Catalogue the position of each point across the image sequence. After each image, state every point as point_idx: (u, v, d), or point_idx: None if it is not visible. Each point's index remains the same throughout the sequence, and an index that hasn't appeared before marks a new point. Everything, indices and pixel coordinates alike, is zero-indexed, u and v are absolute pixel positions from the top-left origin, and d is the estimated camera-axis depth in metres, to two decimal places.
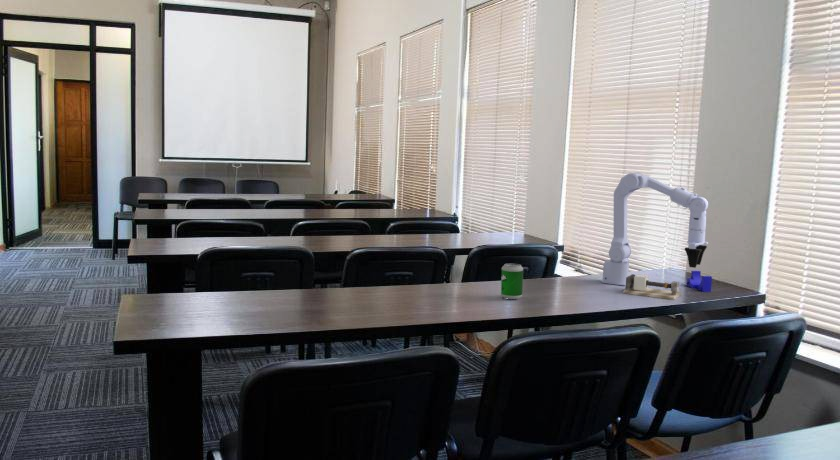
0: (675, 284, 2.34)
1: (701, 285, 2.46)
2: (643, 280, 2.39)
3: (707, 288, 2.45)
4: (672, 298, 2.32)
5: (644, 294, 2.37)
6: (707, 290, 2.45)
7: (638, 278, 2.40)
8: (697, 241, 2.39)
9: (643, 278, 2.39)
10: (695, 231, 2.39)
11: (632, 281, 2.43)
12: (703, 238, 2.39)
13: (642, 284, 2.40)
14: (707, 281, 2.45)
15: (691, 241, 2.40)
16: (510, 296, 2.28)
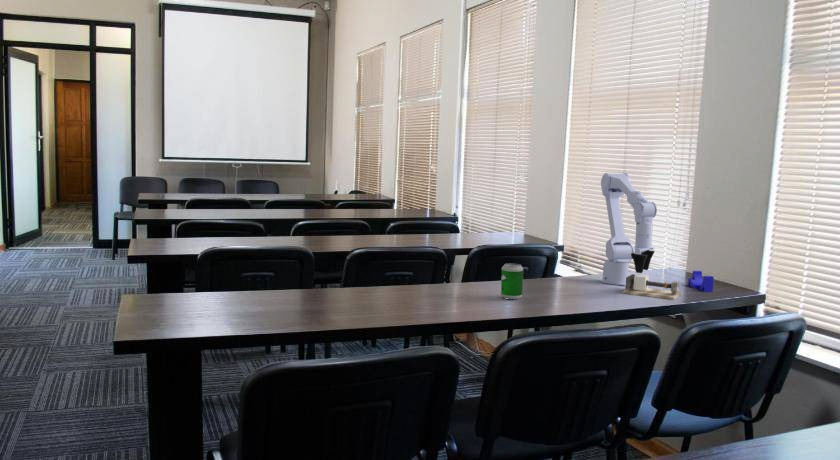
0: (675, 284, 2.34)
1: (703, 285, 2.46)
2: (643, 280, 2.39)
3: (709, 288, 2.45)
4: (672, 298, 2.32)
5: (644, 294, 2.37)
6: (709, 290, 2.45)
7: (638, 278, 2.40)
8: (643, 246, 2.38)
9: (643, 278, 2.39)
10: (641, 236, 2.38)
11: (632, 281, 2.43)
12: (649, 243, 2.38)
13: (642, 284, 2.40)
14: (708, 281, 2.45)
15: (637, 246, 2.39)
16: (510, 296, 2.28)
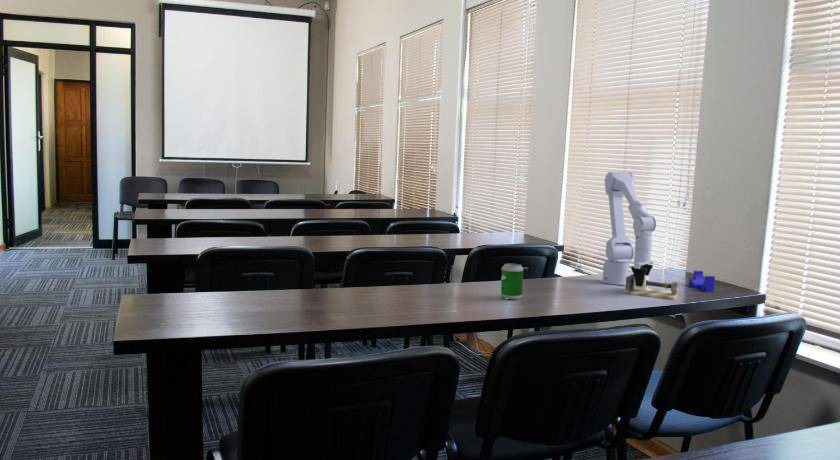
0: (675, 284, 2.34)
1: (704, 285, 2.46)
2: None
3: (710, 288, 2.45)
4: (672, 298, 2.32)
5: (644, 294, 2.37)
6: (710, 290, 2.45)
7: None
8: (642, 260, 2.39)
9: None
10: (640, 250, 2.39)
11: (632, 281, 2.43)
12: (649, 257, 2.39)
13: None
14: (710, 281, 2.45)
15: (637, 260, 2.40)
16: (510, 296, 2.28)
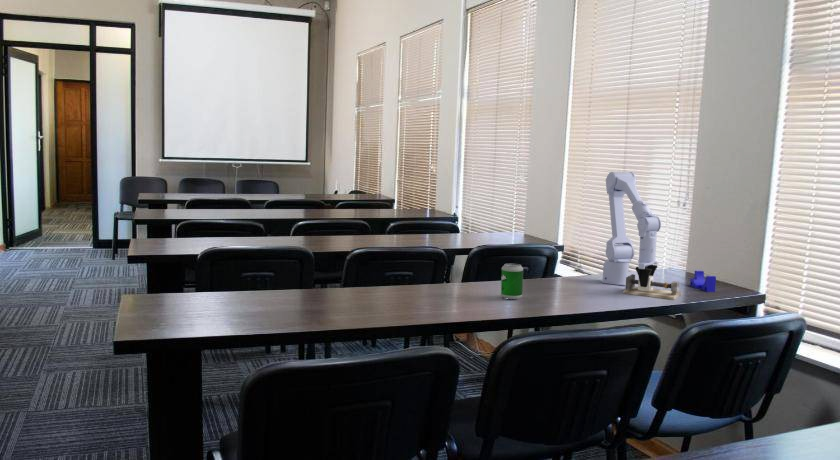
0: (675, 284, 2.34)
1: (705, 285, 2.46)
2: (648, 281, 2.39)
3: (711, 288, 2.45)
4: (672, 298, 2.32)
5: (644, 294, 2.37)
6: (711, 290, 2.45)
7: None
8: (647, 261, 2.38)
9: (648, 279, 2.38)
10: (645, 251, 2.38)
11: (632, 281, 2.43)
12: (653, 258, 2.38)
13: None
14: (711, 281, 2.45)
15: (641, 261, 2.39)
16: (510, 296, 2.28)
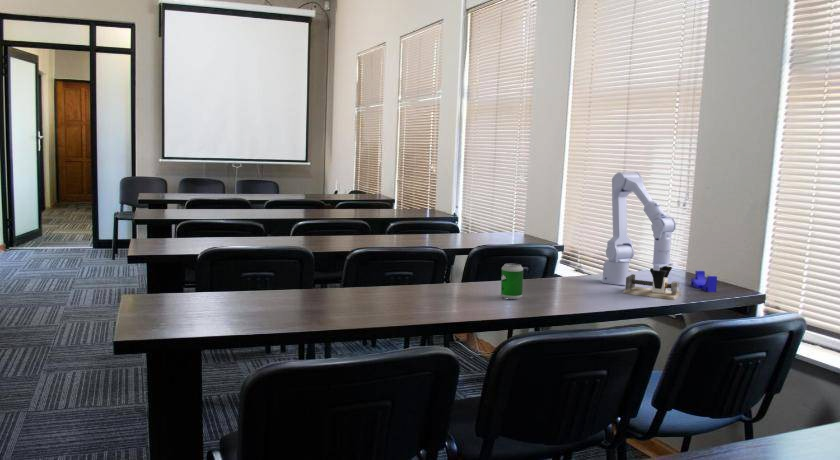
0: (675, 284, 2.34)
1: (707, 285, 2.46)
2: None
3: (712, 288, 2.45)
4: (672, 298, 2.32)
5: (644, 294, 2.37)
6: (712, 290, 2.45)
7: None
8: (662, 262, 2.35)
9: None
10: (660, 252, 2.35)
11: (632, 281, 2.43)
12: (668, 259, 2.35)
13: None
14: (712, 281, 2.45)
15: (656, 262, 2.36)
16: (510, 296, 2.28)
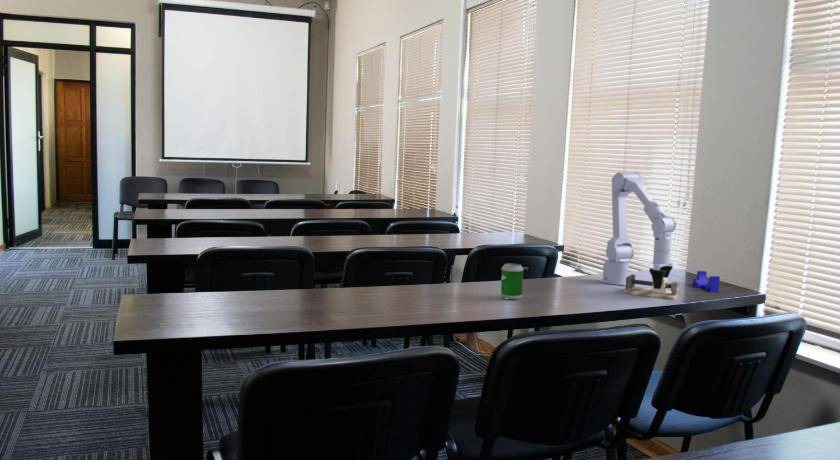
0: (675, 284, 2.34)
1: (709, 285, 2.46)
2: (662, 282, 2.36)
3: (715, 288, 2.45)
4: (672, 298, 2.32)
5: (644, 294, 2.37)
6: (715, 290, 2.45)
7: None
8: (662, 262, 2.35)
9: None
10: (660, 252, 2.35)
11: (632, 281, 2.43)
12: (668, 259, 2.35)
13: (661, 286, 2.36)
14: (715, 281, 2.45)
15: (656, 262, 2.36)
16: (510, 296, 2.28)
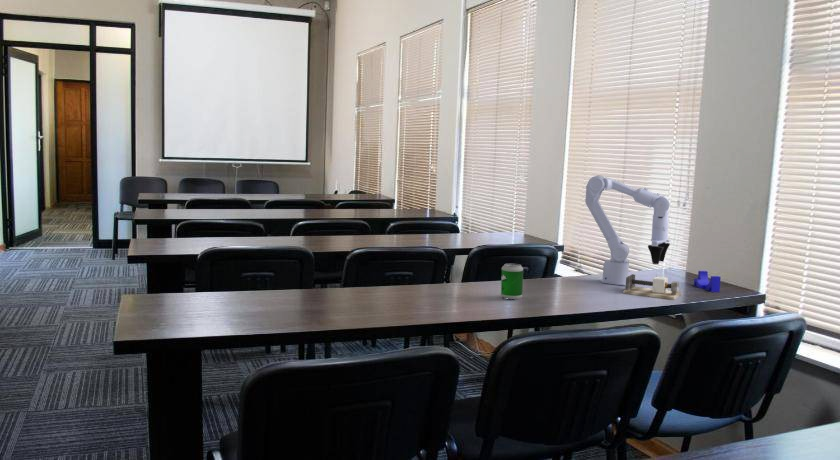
0: (675, 284, 2.34)
1: (710, 285, 2.46)
2: (662, 282, 2.36)
3: (716, 288, 2.45)
4: (672, 298, 2.32)
5: (644, 294, 2.37)
6: (716, 290, 2.45)
7: (657, 280, 2.37)
8: (660, 239, 2.49)
9: (662, 280, 2.36)
10: (658, 229, 2.49)
11: (632, 281, 2.43)
12: (665, 236, 2.49)
13: (661, 286, 2.36)
14: (716, 281, 2.45)
15: (654, 239, 2.50)
16: (510, 296, 2.28)
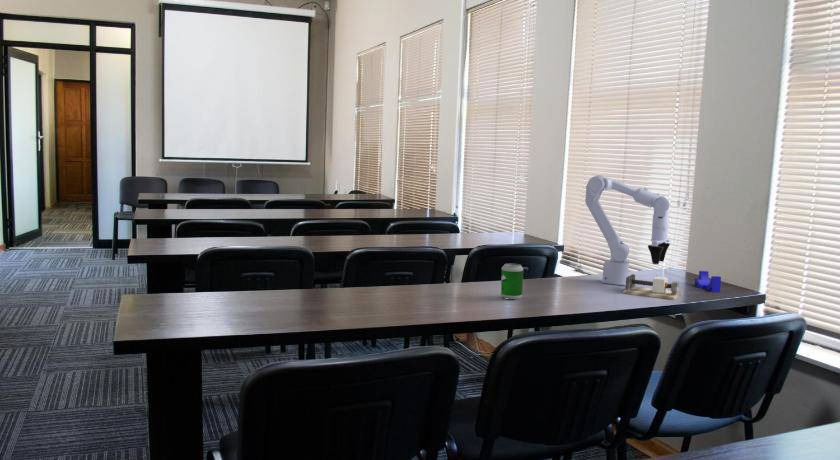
0: (675, 284, 2.34)
1: (711, 285, 2.46)
2: (662, 282, 2.36)
3: (716, 288, 2.45)
4: (672, 298, 2.32)
5: (644, 294, 2.37)
6: (716, 290, 2.45)
7: (657, 280, 2.37)
8: (660, 239, 2.49)
9: (662, 280, 2.36)
10: (658, 229, 2.49)
11: (632, 281, 2.43)
12: (665, 236, 2.49)
13: (661, 286, 2.36)
14: (716, 281, 2.45)
15: (654, 239, 2.50)
16: (510, 296, 2.28)
